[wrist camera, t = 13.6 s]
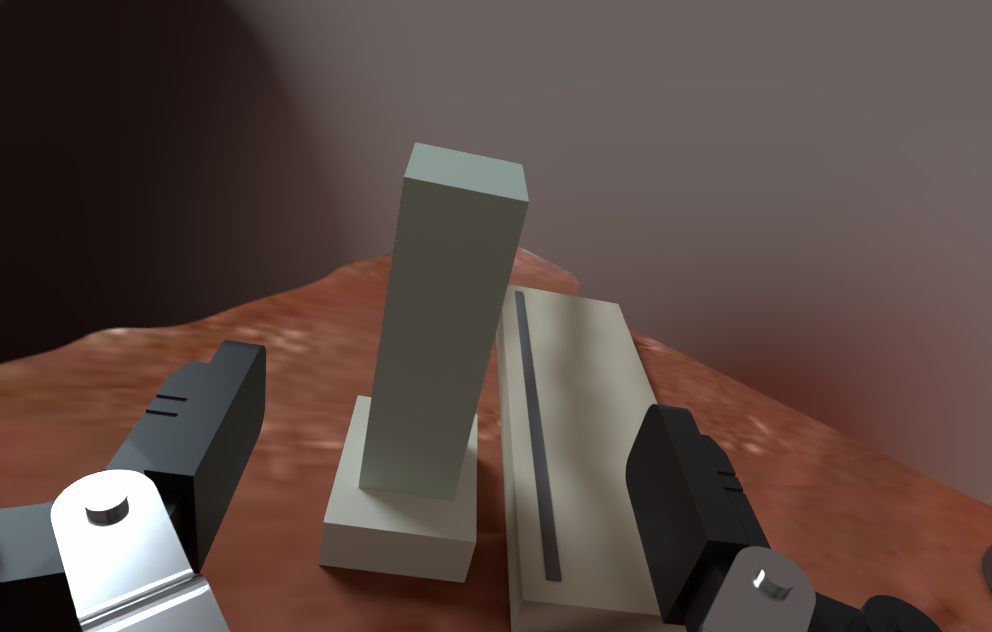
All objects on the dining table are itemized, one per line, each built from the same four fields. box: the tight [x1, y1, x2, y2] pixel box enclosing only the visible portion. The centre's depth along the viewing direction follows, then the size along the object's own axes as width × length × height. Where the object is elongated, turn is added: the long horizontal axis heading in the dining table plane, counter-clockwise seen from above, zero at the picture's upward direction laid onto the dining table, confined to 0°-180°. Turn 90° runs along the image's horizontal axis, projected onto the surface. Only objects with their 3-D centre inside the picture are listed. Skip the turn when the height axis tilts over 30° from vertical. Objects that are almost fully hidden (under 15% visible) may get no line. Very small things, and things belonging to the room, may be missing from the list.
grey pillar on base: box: [319, 143, 529, 583], centre depth 26 cm, size 6×8×16 cm
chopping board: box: [496, 284, 687, 632], centre depth 36 cm, size 9×26×2 cm, turn 2°
